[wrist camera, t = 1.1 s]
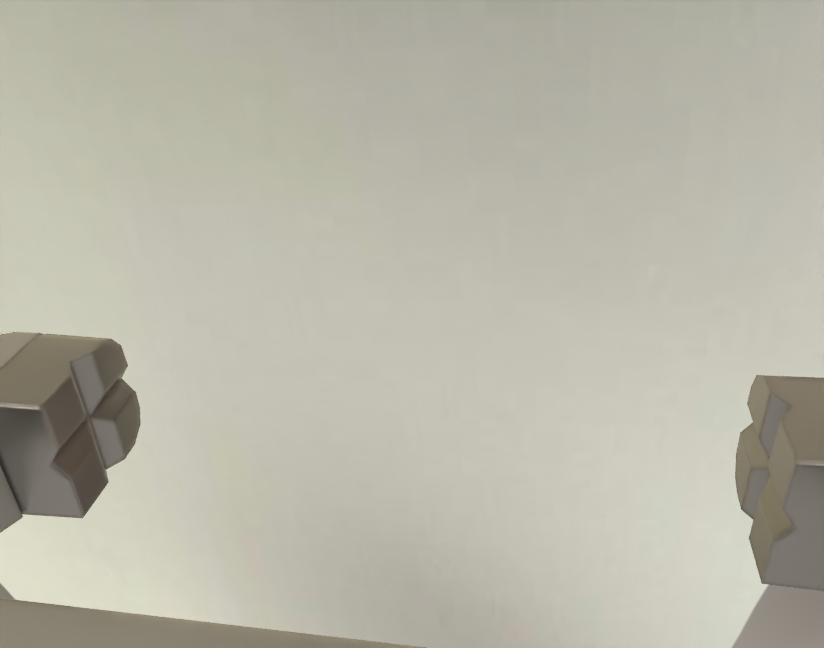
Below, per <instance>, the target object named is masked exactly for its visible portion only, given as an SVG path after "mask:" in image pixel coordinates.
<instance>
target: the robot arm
mask: <svg viewBox="0 0 824 648" xmlns="http://www.w3.org/2000/svg"><path fill="white" fill-rule="evenodd" d="M127 366H128V365H127V362H126V359H125V356H124V353H123V350H122V347H121V345H120V344H118V343H117V342H115V341H114V340H112V339H107V338H94V337H81V336H68V335H55V334H41V333H24V332H12V333H6V334H1V335H0V532H2V531H3V530H5V529H6V528H8V527H9V526H11V525H12V524H14V523H15V522H16V521H18V520H19V519H21V518H22V517H23V516H22V514H28V515H43V516H58V517H73V518H83V517H84V516H85V514H86V513H87V511H88V510H89V509H90V507H91V506H92V504H93V503H94V502H95V500H96V499H97V497H98V496H99V495H100V493H101V492H102V490H103V489H104V488H105V486H106V485H107V483H108V477H107V472H106V469H108V468H110V467H111V466H113V465H115V464H117V463H119V462H120V461H122V460H124V459H125V458H126V456H127V455H128V453H129V452H130V450H131V449H132V447H133V446H134V444H135V442H136V438H137V434H138V430H139V427H140V406H139V403H138V399H137V395H136V392H135V391H134V390H133V389H132V388H131V387H130V386H129V385H128V384H127V383H126V382H125V381H124V380H123V379H122V376H123V374H124V372H125V370H126V368H127ZM747 404H748V407H749V410H750V414H751V417H752V420H753V423H752V424H750V425H749V426H748V427H747V428H746V429H744V430H743V431H742V432H741V433H740V437H739V443H738V448H737V453H736V471H735V479H736V487H737V494H738V498H739V502H740V506H741V509H742V510H743V511H744V512H745V513H746V514H747V515H749V516H750V517H751V518H752V519H753V524H752V528H751V532H750V536H749V540H750V543H751V547H752V550H753V554H754V558H755V561H756V565H757V568H758V572H759V575H760V579H761V583H762V584H770V585H778V586H787V587H795V588H804V589H812V590H820V591H824V378H815V377H790V376H765V375H757V376H756V378H755V380H754V382H753V384H752V386H751V390H750V394H749V398H748V402H747ZM0 648H425V647H417V646H408V645H400V644H391V643H382V642H374V641H365V640H356V639H348V638H339V637H331V636H322V635H313V634H305V633H296V632H287V631H279V630H270V629H262V628H253V627H244V626H236V625H227V624H218V623H210V622H201V621H193V620H184V619H175V618H167V617H158V616H149V615H141V614H132V613H124V612H115V611H106V610H98V609H89V608H81V607H72V606H64V605H55V604H46V603H38V602H29V601H21V600H11V599H3V598H0Z"/></svg>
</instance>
